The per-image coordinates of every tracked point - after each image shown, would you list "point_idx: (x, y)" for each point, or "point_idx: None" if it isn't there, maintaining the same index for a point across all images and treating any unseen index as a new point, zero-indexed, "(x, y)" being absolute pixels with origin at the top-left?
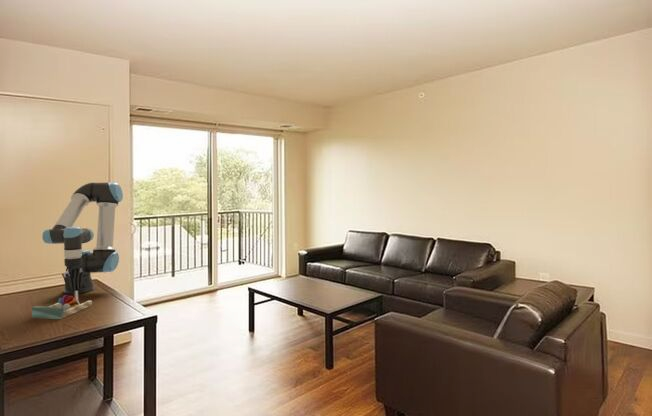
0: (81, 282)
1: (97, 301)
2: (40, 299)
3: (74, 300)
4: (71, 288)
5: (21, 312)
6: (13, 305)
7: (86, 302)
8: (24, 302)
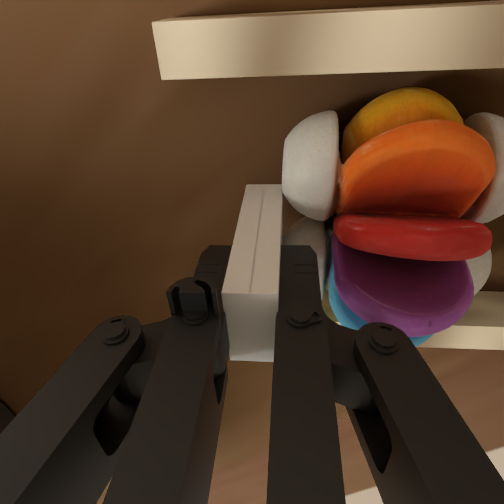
0: (43, 415)
1: (23, 77)
2: None
3: (459, 133)
4: (405, 373)
5: None
6: None
7: (270, 29)
8: (231, 487)
